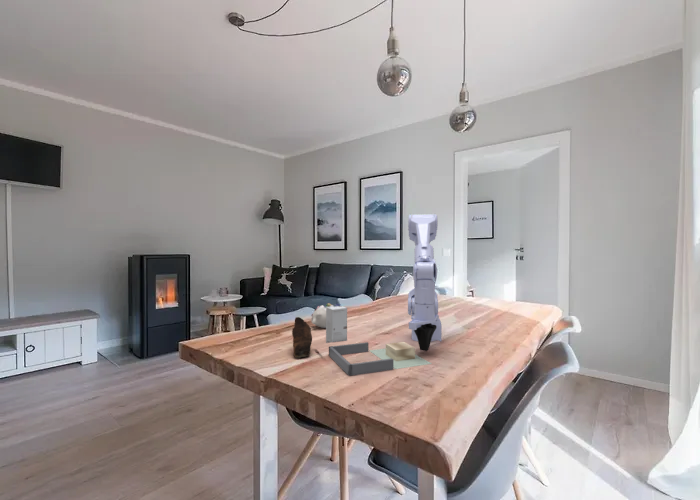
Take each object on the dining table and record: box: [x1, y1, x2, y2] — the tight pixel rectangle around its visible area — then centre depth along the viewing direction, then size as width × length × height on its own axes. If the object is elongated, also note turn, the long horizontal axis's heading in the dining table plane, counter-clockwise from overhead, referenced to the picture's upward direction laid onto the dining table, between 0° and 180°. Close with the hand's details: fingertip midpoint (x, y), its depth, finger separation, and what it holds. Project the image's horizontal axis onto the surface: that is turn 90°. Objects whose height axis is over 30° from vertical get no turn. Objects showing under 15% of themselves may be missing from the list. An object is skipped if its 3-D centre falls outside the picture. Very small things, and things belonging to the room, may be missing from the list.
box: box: [328, 341, 394, 377], centre depth 89 cm, size 12×16×4 cm
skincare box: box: [325, 305, 348, 344], centre depth 110 cm, size 6×4×12 cm
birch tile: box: [385, 341, 416, 361], centre depth 93 cm, size 6×6×3 cm
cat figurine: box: [311, 302, 335, 329], centre depth 134 cm, size 10×8×15 cm
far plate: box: [368, 347, 432, 370], centre depth 93 cm, size 11×16×2 cm
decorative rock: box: [291, 316, 313, 359], centre depth 101 cm, size 12×6×11 cm, turn 6°
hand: (424, 350), depth 96 cm, fingers closed
